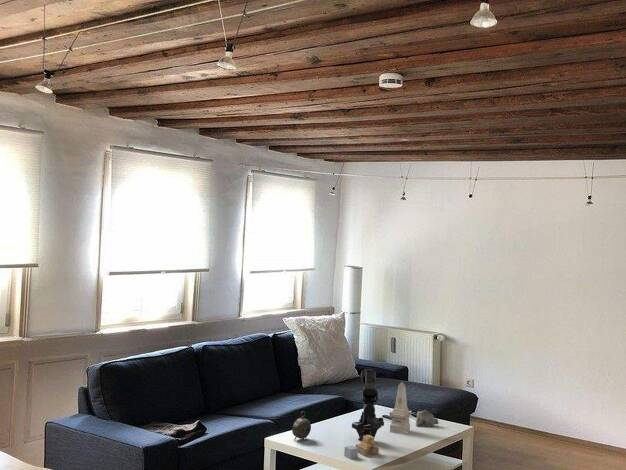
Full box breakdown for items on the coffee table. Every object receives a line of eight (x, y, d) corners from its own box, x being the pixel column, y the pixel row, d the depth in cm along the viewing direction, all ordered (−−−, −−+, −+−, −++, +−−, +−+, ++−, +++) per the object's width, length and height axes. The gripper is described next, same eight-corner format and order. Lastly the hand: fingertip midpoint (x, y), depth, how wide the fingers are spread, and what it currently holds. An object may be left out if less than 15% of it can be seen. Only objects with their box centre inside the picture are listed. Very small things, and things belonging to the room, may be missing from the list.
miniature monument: (388, 432, 404) (391, 382, 404) (394, 427, 413) (396, 379, 413) (405, 434, 399) (407, 384, 399) (410, 430, 409) (413, 381, 409)
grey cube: (351, 454, 358) (351, 445, 358) (357, 457, 354) (358, 448, 354) (344, 456, 355) (344, 446, 355) (350, 459, 351) (350, 449, 351)
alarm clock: (305, 437, 385) (307, 408, 385) (312, 439, 381) (313, 411, 381) (291, 440, 378) (292, 411, 378) (297, 442, 374) (298, 413, 374)
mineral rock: (439, 426, 422) (440, 410, 422) (432, 430, 413) (433, 413, 413) (420, 422, 429) (420, 406, 429) (413, 426, 420) (413, 409, 420)
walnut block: (369, 450, 369) (369, 442, 369) (378, 455, 361) (378, 447, 361) (355, 451, 364) (355, 444, 364) (364, 457, 356) (364, 449, 356)
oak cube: (367, 444, 366) (368, 434, 366) (373, 446, 362) (374, 437, 362) (360, 445, 363) (361, 436, 363) (366, 447, 359) (367, 438, 359)
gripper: (365, 416, 350) (364, 446, 350) (391, 412, 362) (390, 441, 362) (351, 411, 359) (350, 441, 359) (377, 407, 371) (376, 436, 371)
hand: (367, 440), depth 362 cm, fingers open, 8 cm apart
